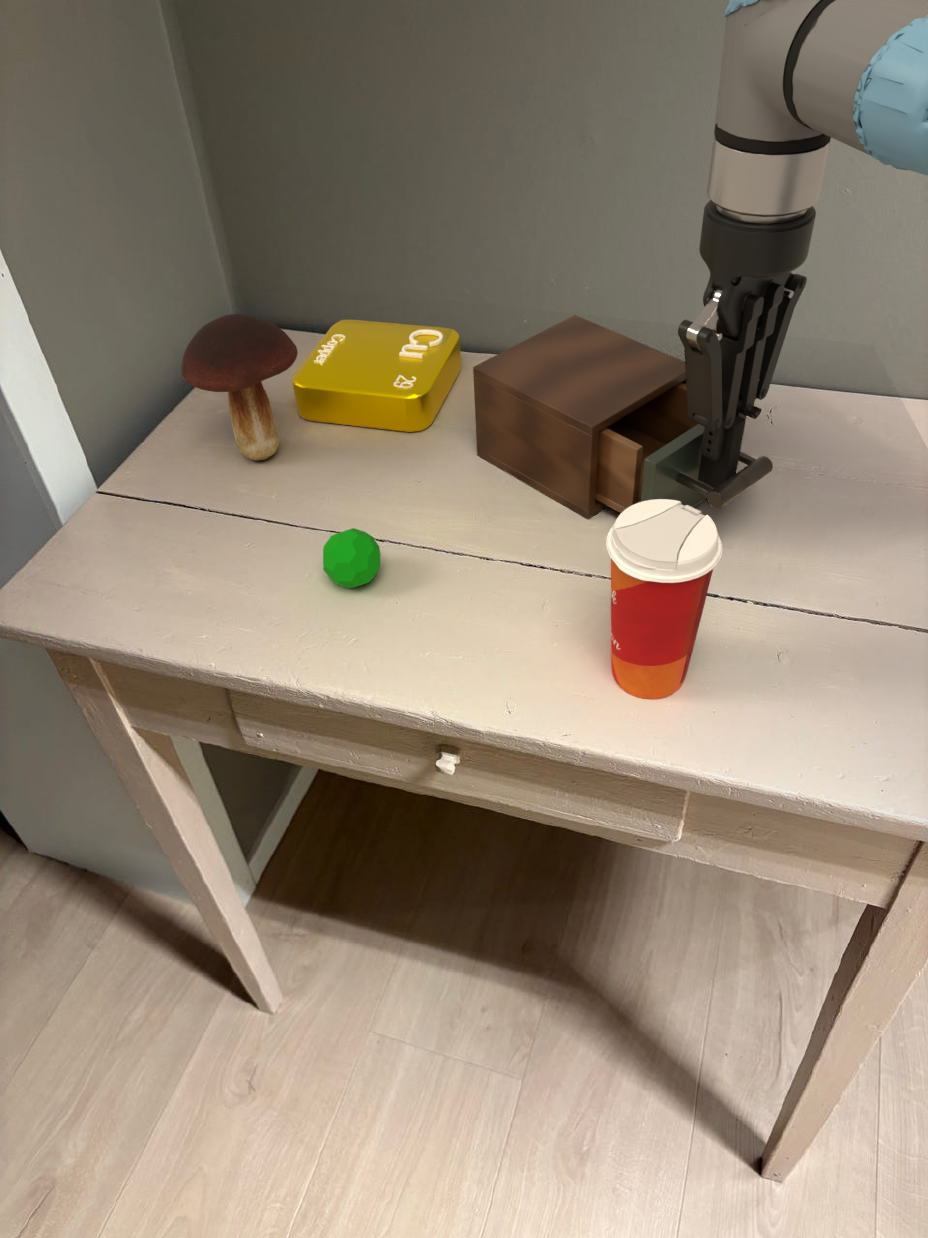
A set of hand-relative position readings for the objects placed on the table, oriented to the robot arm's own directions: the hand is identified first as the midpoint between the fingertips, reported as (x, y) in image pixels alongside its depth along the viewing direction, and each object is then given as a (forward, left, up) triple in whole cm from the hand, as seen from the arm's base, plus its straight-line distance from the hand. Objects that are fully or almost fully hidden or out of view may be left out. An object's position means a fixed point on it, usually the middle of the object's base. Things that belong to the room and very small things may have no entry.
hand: (715, 482), depth 82 cm
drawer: (+4, -4, -4) cm, 7 cm away
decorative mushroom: (+43, -12, -5) cm, 45 cm away
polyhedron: (+31, +7, -5) cm, 32 cm away
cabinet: (+11, -11, -5) cm, 16 cm away
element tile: (+32, -24, -5) cm, 40 cm away
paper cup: (+7, +18, -5) cm, 20 cm away
